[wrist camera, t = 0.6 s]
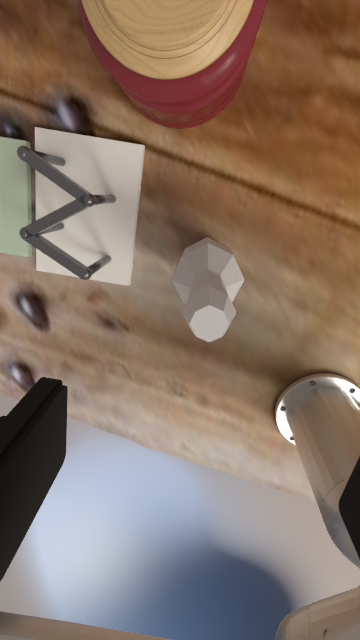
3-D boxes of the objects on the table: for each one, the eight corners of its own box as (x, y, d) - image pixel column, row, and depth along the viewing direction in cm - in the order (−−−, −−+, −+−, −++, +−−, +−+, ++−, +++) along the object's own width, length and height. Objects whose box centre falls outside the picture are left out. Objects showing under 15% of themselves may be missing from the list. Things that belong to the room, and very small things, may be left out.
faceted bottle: (170, 258, 40) (135, 324, 20) (206, 219, 38) (209, 248, 18) (206, 292, 41) (208, 387, 21) (243, 257, 39) (285, 324, 19)
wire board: (145, 146, 36) (143, 145, 35) (131, 284, 42) (129, 286, 41) (39, 128, 36) (34, 127, 35) (40, 268, 42) (36, 270, 41)
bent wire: (119, 165, 36) (95, 157, 28) (112, 264, 40) (89, 281, 32) (56, 155, 36) (13, 143, 28) (55, 254, 40) (18, 269, 32)
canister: (271, 18, 31) (347, -179, 15) (208, 153, 36) (211, 119, 19) (149, -57, 30) (83, -365, 13) (100, 94, 34) (5, 2, 18)
